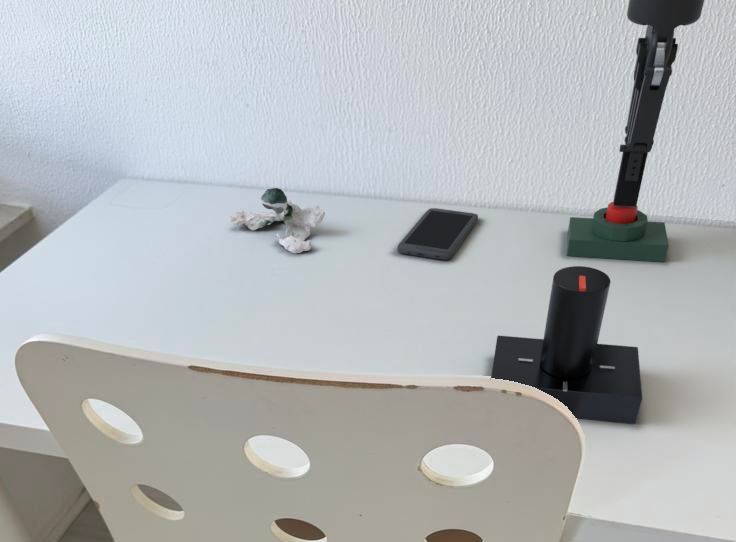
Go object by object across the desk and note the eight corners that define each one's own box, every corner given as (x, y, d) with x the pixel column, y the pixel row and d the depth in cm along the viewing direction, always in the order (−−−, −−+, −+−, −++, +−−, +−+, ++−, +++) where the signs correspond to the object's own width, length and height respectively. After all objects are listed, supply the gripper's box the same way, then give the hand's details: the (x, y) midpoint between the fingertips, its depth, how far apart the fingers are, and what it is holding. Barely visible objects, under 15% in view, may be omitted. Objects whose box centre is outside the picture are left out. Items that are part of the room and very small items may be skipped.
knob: (540, 348, 77) (554, 261, 71) (591, 352, 76) (610, 264, 70) (539, 376, 74) (553, 286, 67) (592, 380, 73) (612, 290, 66)
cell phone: (395, 252, 101) (395, 247, 100) (429, 212, 110) (429, 206, 109) (449, 261, 98) (449, 255, 98) (479, 218, 107) (479, 213, 107)
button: (634, 214, 98) (637, 201, 97) (635, 226, 96) (638, 212, 95) (605, 213, 99) (607, 199, 98) (605, 224, 97) (608, 211, 95)
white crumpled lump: (345, 222, 105) (319, 186, 98) (318, 274, 105) (291, 242, 98) (264, 200, 112) (235, 166, 105) (239, 249, 112) (208, 218, 105)
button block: (660, 238, 101) (668, 208, 99) (664, 262, 96) (672, 231, 94) (567, 233, 104) (572, 203, 101) (566, 255, 99) (571, 225, 96)
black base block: (631, 371, 79) (638, 344, 77) (635, 424, 73) (643, 397, 71) (494, 359, 82) (497, 333, 79) (486, 409, 75) (489, 382, 73)
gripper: (717, -12, 75) (659, 226, 91) (702, -35, 84) (652, 185, 100) (636, -11, 76) (594, 223, 92) (631, -34, 85) (593, 182, 101)
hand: (624, 203), depth 96 cm, fingers closed
